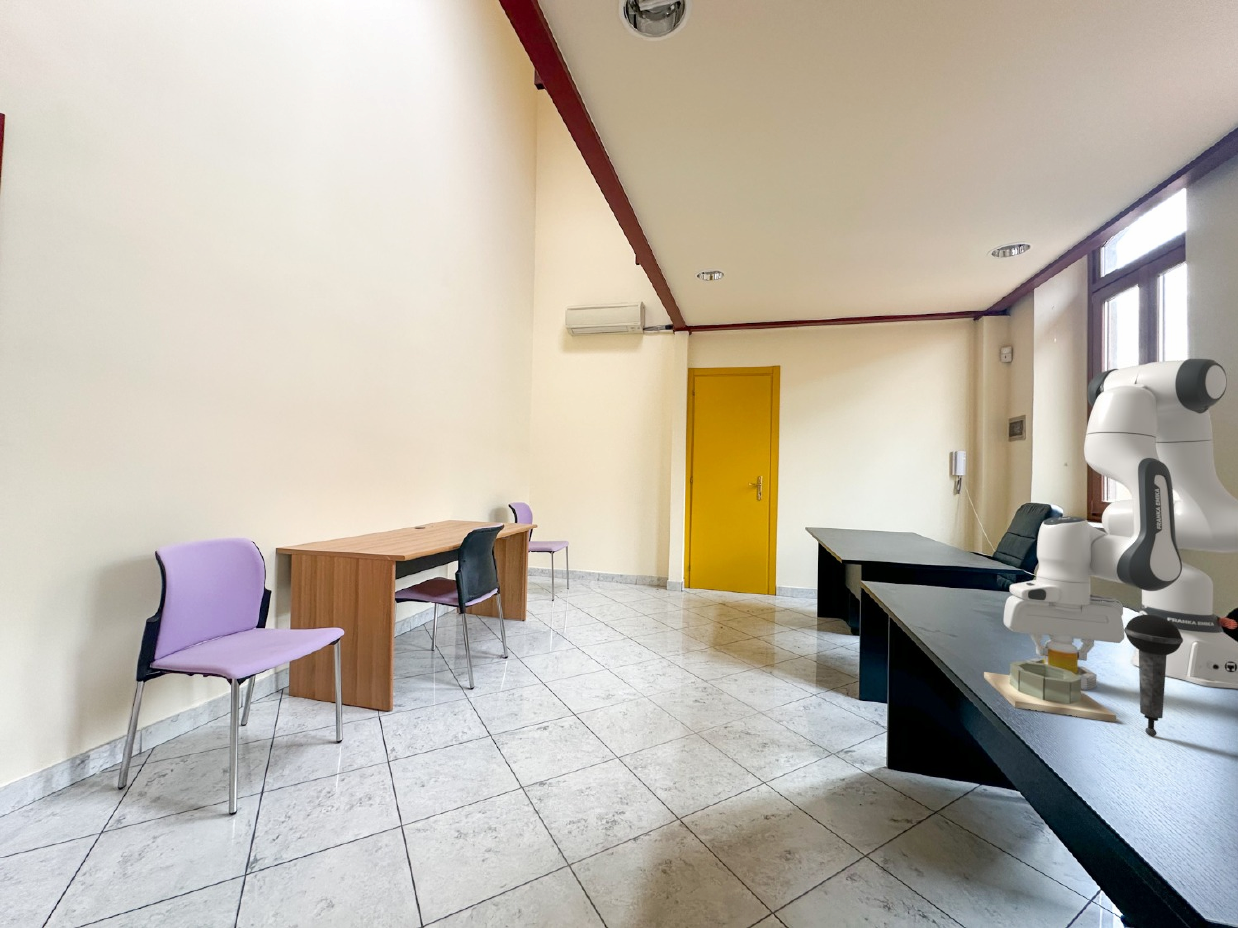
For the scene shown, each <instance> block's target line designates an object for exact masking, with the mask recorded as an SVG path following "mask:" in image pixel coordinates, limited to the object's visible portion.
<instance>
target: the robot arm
mask: <svg viewBox="0 0 1238 928" xmlns="http://www.w3.org/2000/svg"><path fill="white" fill-rule="evenodd" d="M1227 383H1228V379H1227V373H1226V371H1225V368H1224V367H1223V366H1222V365H1221V364H1219V363H1218V362H1217V361H1215V360H1214V359H1210V358H1209V359H1208V358H1187V359H1186V360H1182V359H1181V360H1164V361H1163V360H1162V361H1155V362H1154V361H1153V362H1148V363H1146V364H1145V363H1144V364H1139V365H1138V364H1137V365H1134V366H1128V367H1123V368H1120V369H1119V368H1113V369H1109V370H1105V371H1102V372H1100V373H1097V374H1096V375H1095V376H1094V377H1092V379H1091V380H1090V382H1089V384H1088V385H1087V392H1086V397H1087V401H1088V403H1089V405H1090V407H1091V408H1092V409H1091V412H1090V416H1089V419H1088V421H1087V422H1088V423H1087V427H1086V433H1085V439H1084V445H1083V453H1084V459H1085V462H1086V463H1087V465H1088V466H1089V467H1091V469H1092V470H1094V471H1095V472H1097V473H1098V474H1100V475H1101V476H1103V477H1106V478H1108V479H1111V480H1113V481H1115V482H1118V483H1119V484H1121V485H1122V486H1124V487H1125V488H1126V489H1127V490H1128V491H1129V493H1130V496H1131V499H1124V500H1114V501H1113V502H1111V503H1109V505H1107V507H1106V508H1105V509H1104V511H1103V513H1102V515H1101V523H1102V527H1103V530H1104V531H1105V532H1104V531H1102V530H1100V529H1098V528H1096V527H1094V526H1093V525H1091V524H1090V523H1089V521H1088V520H1087V519H1086V518H1083V517H1082V516H1081V517H1080V516H1069V515H1067V516H1053V517H1049V518H1047V519H1044V520H1043V521H1042V523H1041V525H1040V527H1039V531H1038V534H1037V545H1036V558H1037V560H1038V569H1037V571H1036V574H1035V575H1036V579H1033V580H1029V581H1024V582H1017V583H1011V584H1010V585H1009V593H1010V594H1012V595H1010V596H1009V597H1007V599H1006V601H1005V605H1004V611H1003V624H1004V626H1005V627H1006V628H1007V629H1009V630H1010V631H1012V632H1014V633H1023V634H1029V635H1030V638H1031V640H1032V641H1033V643H1034V644H1035V652H1036V654H1037V655H1038V656H1042V657H1043V656H1044V657H1045V656H1048V653H1047V652H1048V648H1047V647H1045V645H1043V643H1042V642H1041V640H1043V637H1044V636H1048V637H1049V636H1070V637H1071V638H1074V639H1078V640H1080V642H1081V643H1082V644H1081V646H1080V647H1079V648H1078V661H1084V662H1085V661H1087V660H1088V653H1089V652H1090V651H1091V650H1092V649H1093V648H1094V646H1095V641H1097V642H1107V643H1114V644H1120V643H1121V642H1122V641H1124V639H1125V631H1124V629H1125V626H1124V622H1123V618H1122V617H1123V616H1124V615H1123V614H1124V606H1123V604H1122V602H1121V601H1120V600H1118V599H1116V598H1115V597H1113V596H1109V595H1108V596H1107V595H1105V596H1101V595H1095V594H1091V581H1092V580H1091V577H1094V578H1098V579H1103V580H1105V581H1109V582H1114V583H1115V582H1116V583H1120V584H1125V585H1128V586H1130V587H1134V588H1136V589H1140V590H1141V602H1140V603H1139V605H1138V616H1140V615H1155V616H1159V617H1162V618H1164V619H1166V620H1168V621H1170V622H1171V623H1172V624H1174V625H1175V626H1176V627H1177V629H1178V630H1179V632H1180V634H1181V637H1182V638H1183V642H1182V643H1181V645H1180V647H1179V649H1178V650H1177V651H1175V652H1174V653H1172V654H1169V655H1167V657H1166V672H1165V677H1170V678H1175V679H1179V680H1183V681H1186V682H1188V683H1189V682H1190V683H1192V684H1193V683H1194V684H1196V685H1200V686H1204V687H1212V688H1213V687H1214V688H1225V689H1227V688H1228V689H1238V641H1237V640H1235V639H1234V638H1232V637H1231V636H1229V635H1228V634H1226V632H1224V629H1223V627H1224V628H1227V629H1230V630H1234V629H1235V628H1237V627H1238V622H1236V620H1234V619H1232V618H1231V619H1230V618H1228V617H1222V618H1221V617H1219V616H1218V615H1216V614H1214V613H1213V612H1214V610H1213V609H1214V606H1213V604H1214V583H1213V580H1212V578H1211V577H1210V576H1209V575H1208V574H1207V573H1205V572H1204V571H1202V570H1200V569H1199V568H1197V567H1194V566H1192V565H1190V564H1187V563H1186V562H1183V560H1182V558H1181V554H1180V552H1179V549H1180V550H1182V549H1183V550H1192V551H1203V552H1212V553H1238V499H1237V498H1236V497H1234V495H1232V494H1231V493H1230V492H1229V491H1228V490H1227V489H1226V488H1225V487H1224V485H1223V484H1222V483H1221V481H1220V479H1219V477H1218V475H1217V471H1216V465H1215V457H1214V455H1215V454H1214V435H1213V434H1214V433H1213V424H1212V419H1211V414H1210V411H1209V408H1211V407H1213V406H1214V405H1216V404H1217V403H1218V402H1219V401H1220V400H1221V399H1222V397H1223V396H1224V395H1225V393H1226V390H1227V385H1228V384H1227ZM1174 491H1175V493H1176V494H1177V495H1178V497H1179V499H1180V500H1179V499H1178V500H1174ZM1130 663H1131V664H1133V665H1135V666H1137V667H1138V668H1139V650H1138V649H1137V648H1136V647H1135V650H1134V653H1133V655H1132V658H1131V659H1130Z"/></svg>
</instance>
